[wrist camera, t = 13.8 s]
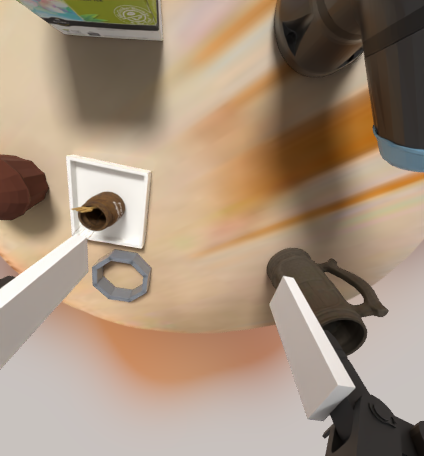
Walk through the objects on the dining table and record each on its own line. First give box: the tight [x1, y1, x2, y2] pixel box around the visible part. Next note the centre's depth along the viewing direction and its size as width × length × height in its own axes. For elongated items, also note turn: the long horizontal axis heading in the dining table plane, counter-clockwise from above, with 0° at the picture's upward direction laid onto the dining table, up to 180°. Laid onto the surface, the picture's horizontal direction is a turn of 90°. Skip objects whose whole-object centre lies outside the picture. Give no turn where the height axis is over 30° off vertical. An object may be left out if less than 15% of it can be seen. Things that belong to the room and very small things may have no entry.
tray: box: [66, 155, 152, 249], centre depth 40 cm, size 16×14×2 cm
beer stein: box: [267, 248, 388, 356], centre depth 39 cm, size 15×11×20 cm
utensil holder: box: [71, 191, 125, 240], centre depth 34 cm, size 6×6×12 cm
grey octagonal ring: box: [92, 249, 151, 302], centre depth 46 cm, size 12×12×3 cm
